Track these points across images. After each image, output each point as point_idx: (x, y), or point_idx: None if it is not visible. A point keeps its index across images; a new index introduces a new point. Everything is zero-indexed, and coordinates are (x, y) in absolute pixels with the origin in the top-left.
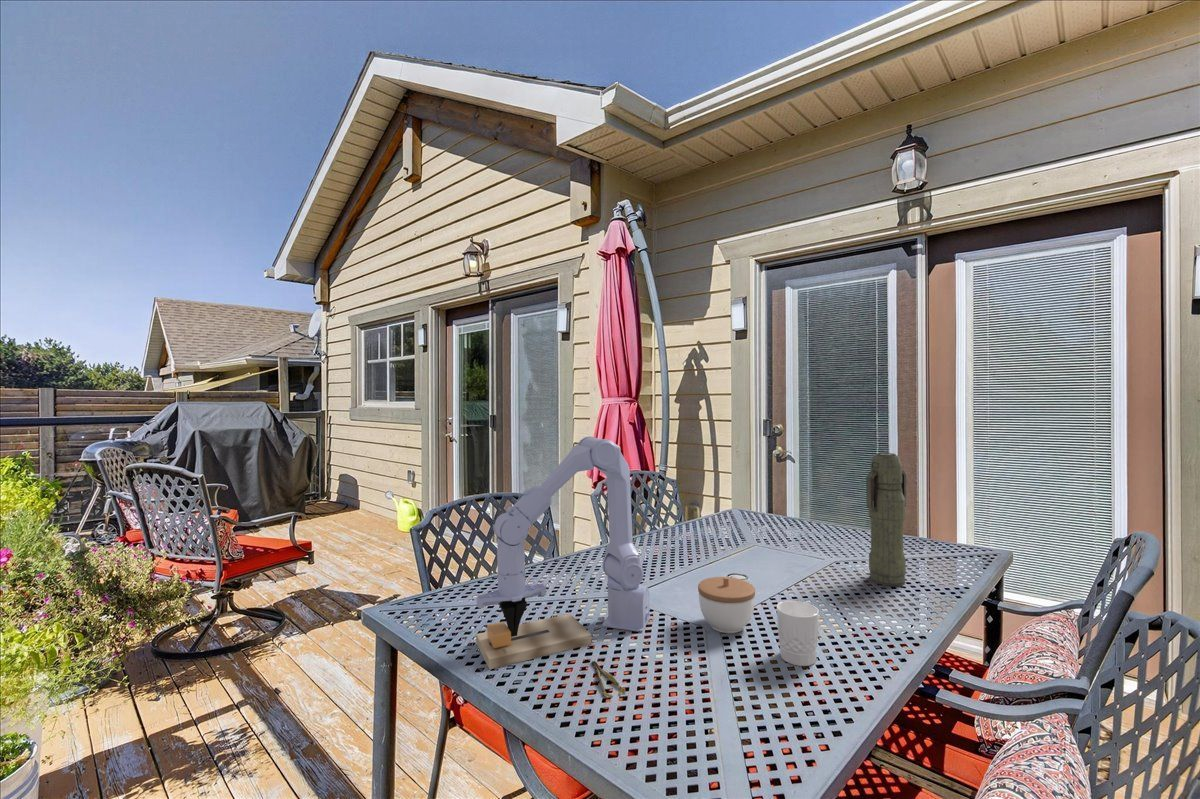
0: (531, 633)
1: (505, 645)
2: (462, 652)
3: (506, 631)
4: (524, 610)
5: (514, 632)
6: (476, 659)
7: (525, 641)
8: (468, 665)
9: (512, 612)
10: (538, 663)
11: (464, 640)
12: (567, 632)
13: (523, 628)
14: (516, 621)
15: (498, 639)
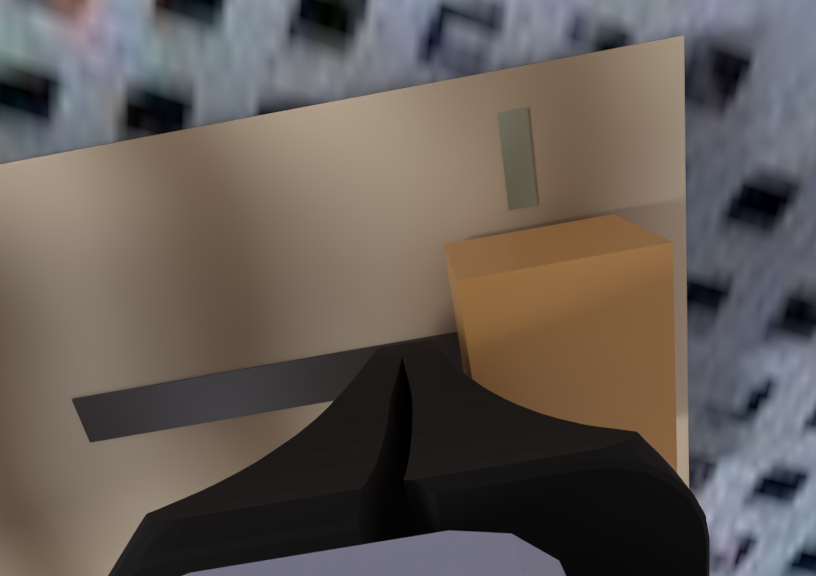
0: (240, 414)
1: (500, 234)
2: (771, 378)
3: (504, 317)
4: (212, 488)
5: (402, 351)
6: (700, 249)
7: (303, 289)
8: (777, 175)
9: (451, 449)
10: (220, 19)
11: (719, 529)
12: None
13: None
14: (375, 403)
15: (593, 241)
